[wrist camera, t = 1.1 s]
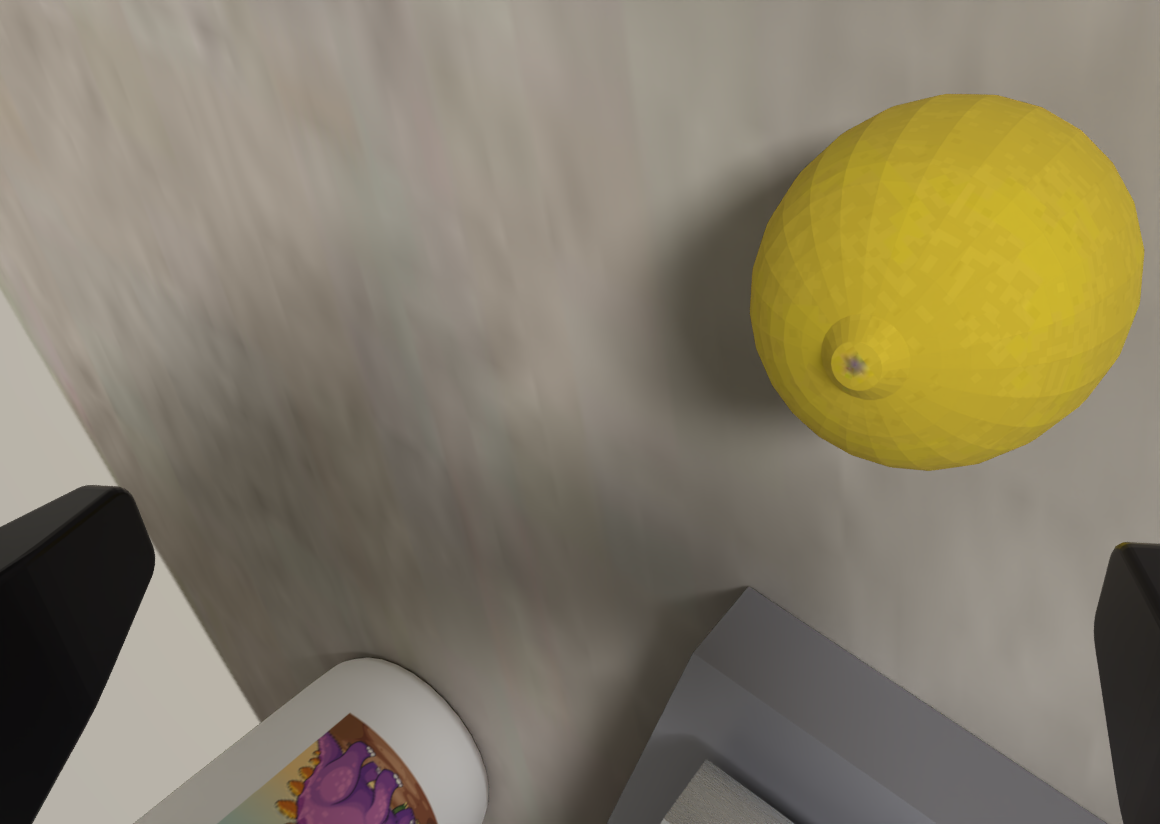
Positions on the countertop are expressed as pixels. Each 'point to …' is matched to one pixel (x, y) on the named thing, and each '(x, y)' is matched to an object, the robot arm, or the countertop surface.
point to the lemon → (947, 281)
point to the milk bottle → (343, 759)
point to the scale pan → (720, 802)
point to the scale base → (824, 738)
